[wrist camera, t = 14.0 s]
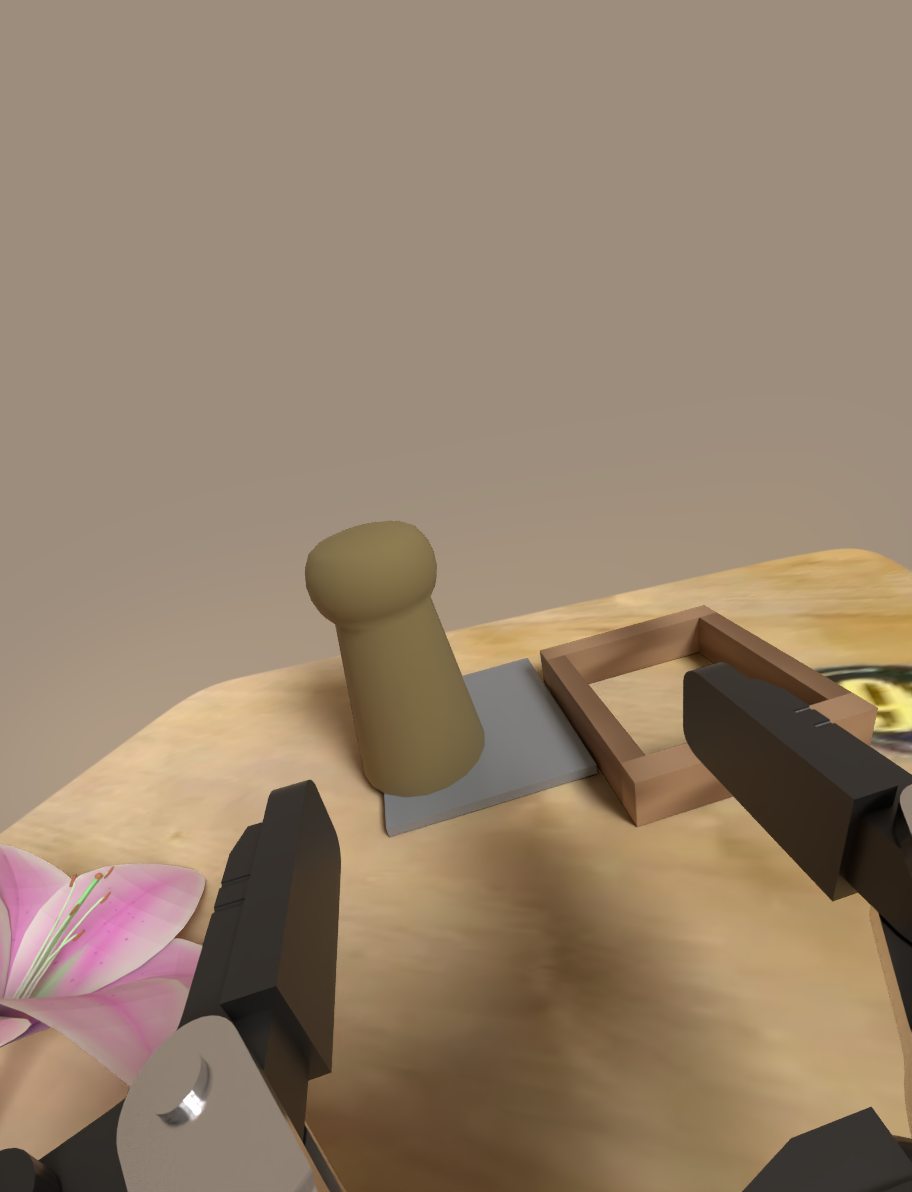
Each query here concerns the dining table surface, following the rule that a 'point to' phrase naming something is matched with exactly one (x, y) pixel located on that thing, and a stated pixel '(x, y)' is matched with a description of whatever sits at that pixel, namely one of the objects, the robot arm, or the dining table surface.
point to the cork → (396, 658)
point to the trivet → (503, 750)
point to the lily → (96, 955)
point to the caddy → (676, 772)
